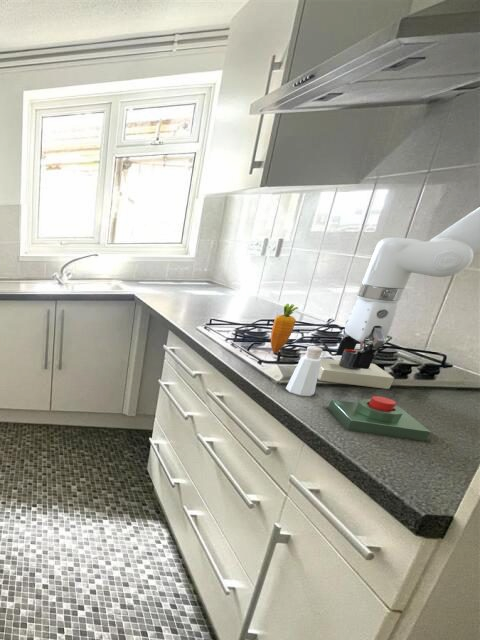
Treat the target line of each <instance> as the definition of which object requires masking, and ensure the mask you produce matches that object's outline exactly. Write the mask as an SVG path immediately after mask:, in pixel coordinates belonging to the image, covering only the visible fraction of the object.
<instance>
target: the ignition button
mask: <svg viewBox="0 0 480 640" xmlns="http://www.w3.org/2000/svg"><path fill="white" fill-rule="evenodd" d="M370 399H371V400H370V402H369V406H371V407H373V408H376V409H380V410H384V411H393V409H394V407H395V406H397V402H396V401H395V400H393V399H391V398H388V397H384V396H378V395H375V396H371V398H370Z"/></svg>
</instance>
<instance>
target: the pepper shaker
mask: <svg viewBox="0 0 480 640" xmlns="http://www.w3.org/2000/svg"><path fill="white" fill-rule="evenodd" d="M322 353H323V348H322V347H319V346H316V345H315V346H314V345H311V346H310V345H309V346H307V347H306V351H305V355H303V356H301V357H300V359H299V360H298V363H297V364H296V366H295V368H294V371H293V373H292V374H291V377H290V379H289V380H288V383H287V385H286V387H285V390H286V391H288V392H289V393H291V394H294V395H297V396H301V397H311V396H313V395H315V391H316V386H317V383H318V380H319V379H318V374H319V370H320V366H321V361H322V360H321V359H319V358H321V355H322Z"/></svg>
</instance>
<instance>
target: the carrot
mask: <svg viewBox="0 0 480 640" xmlns="http://www.w3.org/2000/svg"><path fill="white" fill-rule="evenodd" d="M298 309H299V307H298V306H295V304H293V303H292V304H290V303H286V304H285V305H284V306H283V314H280V315H277V316H275V318H274V321H273V324H272V328H271V332H270V333H271V334H270V348H271V351H272V353H273V354H277V353H279V352H280V351H281V350H282V349H283V347H284V346H285V345H286V344H287V342H288V341H289V339H290V337H291V335H292V333H293V330H294V327H295V325H296V321H297V320H296V318H295V317H294V316H292V314H293V313H294V311H295V310H298Z"/></svg>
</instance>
